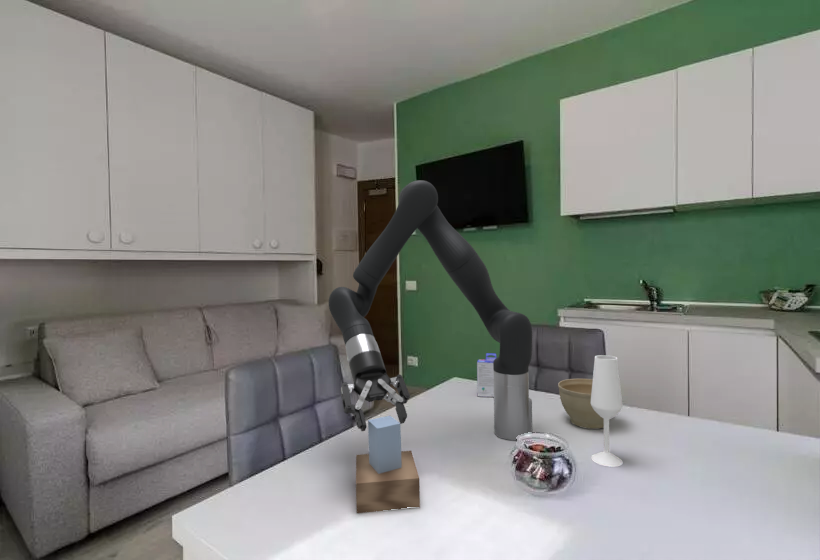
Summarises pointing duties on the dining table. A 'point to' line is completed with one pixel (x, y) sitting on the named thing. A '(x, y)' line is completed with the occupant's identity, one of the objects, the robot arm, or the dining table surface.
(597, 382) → the champagne flute
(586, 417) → the planter bowl
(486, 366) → the ink cartridge box
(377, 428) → the slate blue pillar block
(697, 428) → the dining table surface
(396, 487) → the walnut block
